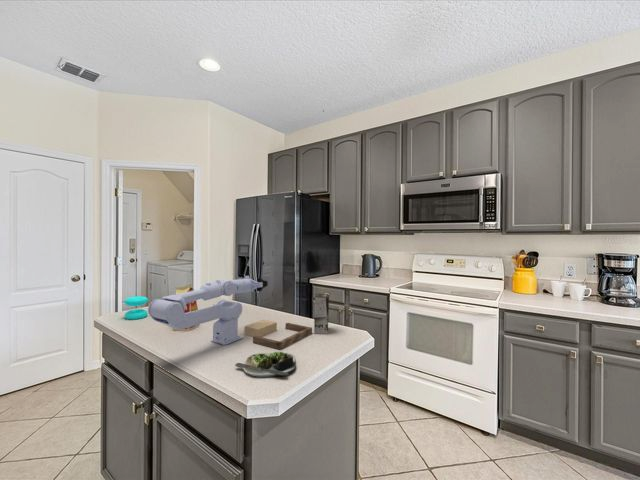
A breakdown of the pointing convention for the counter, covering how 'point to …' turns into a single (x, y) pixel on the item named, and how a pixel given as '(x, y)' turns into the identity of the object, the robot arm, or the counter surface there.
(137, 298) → the turquoise double disc piece
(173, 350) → the counter surface
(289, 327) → the tray
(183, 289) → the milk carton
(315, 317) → the coffee box
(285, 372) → the salad plate
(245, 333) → the kraft carton
